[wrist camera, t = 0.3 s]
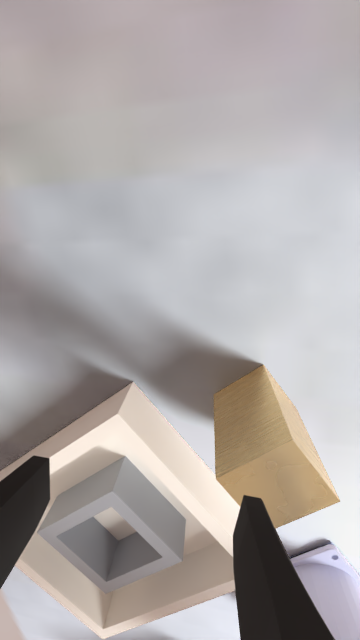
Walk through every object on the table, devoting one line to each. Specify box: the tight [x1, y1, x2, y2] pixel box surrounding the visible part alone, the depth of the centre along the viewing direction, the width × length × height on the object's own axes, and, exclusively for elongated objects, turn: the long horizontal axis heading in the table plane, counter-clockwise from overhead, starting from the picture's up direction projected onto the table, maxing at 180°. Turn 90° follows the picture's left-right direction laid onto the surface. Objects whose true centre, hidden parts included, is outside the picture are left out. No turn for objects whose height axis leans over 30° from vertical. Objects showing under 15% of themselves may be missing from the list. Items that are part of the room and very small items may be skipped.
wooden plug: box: [214, 365, 340, 528], centre depth 16 cm, size 4×4×7 cm
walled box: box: [0, 382, 240, 639], centre depth 22 cm, size 16×16×4 cm
